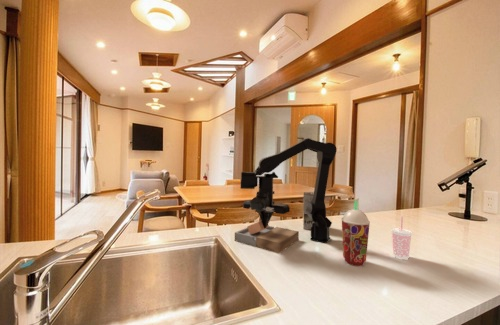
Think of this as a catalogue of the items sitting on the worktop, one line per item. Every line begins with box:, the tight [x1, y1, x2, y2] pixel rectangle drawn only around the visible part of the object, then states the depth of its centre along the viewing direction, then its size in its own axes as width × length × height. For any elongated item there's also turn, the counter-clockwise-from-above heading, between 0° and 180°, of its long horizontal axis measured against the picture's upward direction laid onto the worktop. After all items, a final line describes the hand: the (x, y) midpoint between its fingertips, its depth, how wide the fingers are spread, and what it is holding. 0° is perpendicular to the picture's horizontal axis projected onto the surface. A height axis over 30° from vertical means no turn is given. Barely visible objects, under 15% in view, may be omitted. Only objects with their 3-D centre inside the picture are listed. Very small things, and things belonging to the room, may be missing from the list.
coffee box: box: [302, 191, 314, 230], centre depth 116 cm, size 9×6×16 cm
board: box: [255, 226, 300, 254], centre depth 95 cm, size 10×16×4 cm, turn 145°
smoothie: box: [341, 200, 371, 267], centre depth 78 cm, size 8×8×20 cm
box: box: [234, 225, 275, 247], centre depth 101 cm, size 10×16×3 cm, turn 145°
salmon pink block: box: [246, 220, 270, 235], centre depth 99 cm, size 6×6×4 cm
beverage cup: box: [390, 215, 413, 260], centre depth 83 cm, size 6×6×14 cm
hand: (265, 227), depth 98 cm, fingers closed, pressing on salmon pink block
